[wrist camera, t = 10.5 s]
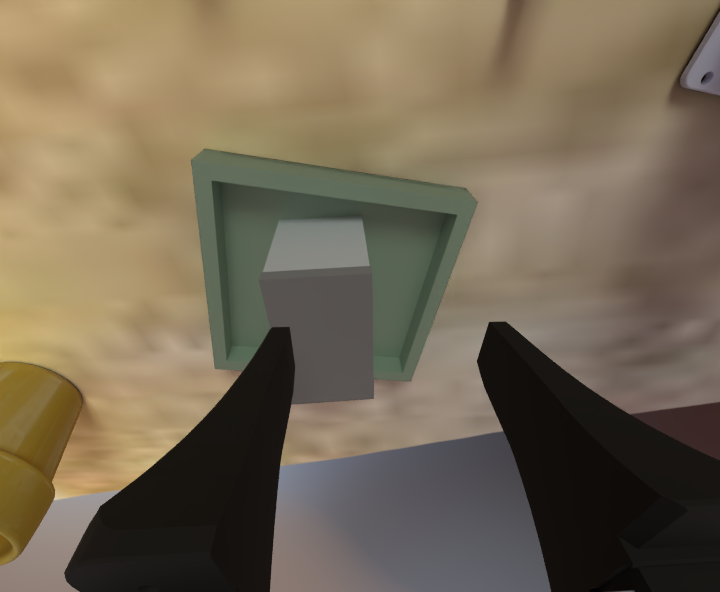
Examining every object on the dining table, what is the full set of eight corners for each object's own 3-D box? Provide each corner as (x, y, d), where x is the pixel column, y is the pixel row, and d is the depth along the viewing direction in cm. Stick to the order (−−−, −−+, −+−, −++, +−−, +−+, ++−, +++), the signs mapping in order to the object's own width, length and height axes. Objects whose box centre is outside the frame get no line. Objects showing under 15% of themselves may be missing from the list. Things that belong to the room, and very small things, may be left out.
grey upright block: (362, 214, 19) (372, 273, 14) (365, 326, 24) (373, 398, 19) (278, 219, 19) (258, 280, 14) (298, 330, 24) (289, 404, 19)
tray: (465, 188, 19) (477, 201, 17) (405, 361, 27) (410, 381, 25) (204, 148, 17) (190, 160, 15) (222, 347, 25) (214, 368, 23)
